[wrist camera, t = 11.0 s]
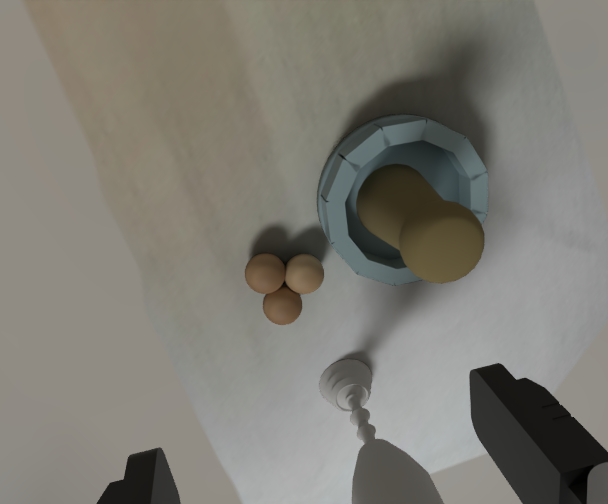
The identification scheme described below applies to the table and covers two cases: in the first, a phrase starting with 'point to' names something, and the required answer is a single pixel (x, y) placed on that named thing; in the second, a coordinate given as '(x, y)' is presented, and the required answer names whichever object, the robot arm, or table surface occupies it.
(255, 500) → the table surface
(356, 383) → the chalice
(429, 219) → the cork
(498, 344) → the table surface
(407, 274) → the dish
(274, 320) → the bead pile
